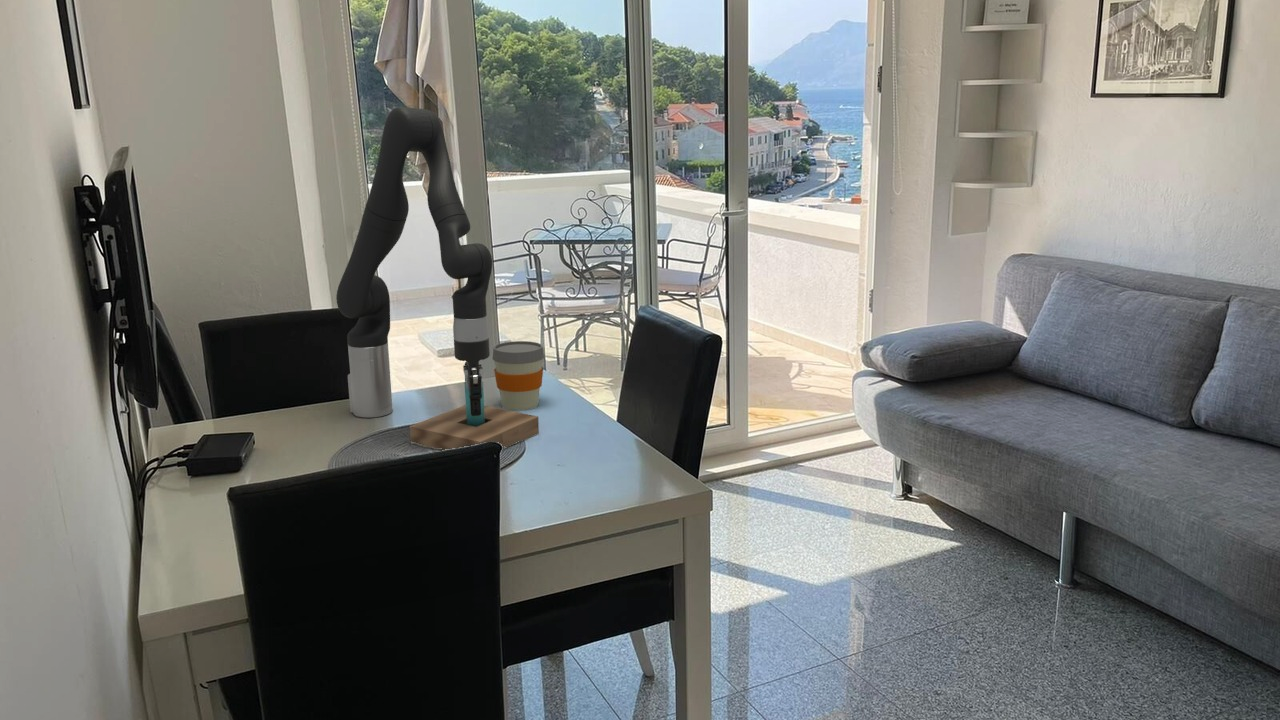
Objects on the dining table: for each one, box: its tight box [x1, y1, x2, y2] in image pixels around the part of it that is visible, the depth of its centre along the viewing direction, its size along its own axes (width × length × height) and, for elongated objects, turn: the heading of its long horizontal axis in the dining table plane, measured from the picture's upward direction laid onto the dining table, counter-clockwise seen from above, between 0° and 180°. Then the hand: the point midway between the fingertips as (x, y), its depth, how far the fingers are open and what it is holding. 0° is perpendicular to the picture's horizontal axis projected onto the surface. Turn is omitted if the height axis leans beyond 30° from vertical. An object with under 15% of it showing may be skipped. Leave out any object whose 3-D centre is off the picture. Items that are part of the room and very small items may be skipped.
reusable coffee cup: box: [492, 340, 545, 412], centre depth 228 cm, size 13×13×15 cm
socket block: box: [409, 404, 540, 451], centre depth 205 cm, size 20×20×4 cm
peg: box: [464, 380, 485, 427], centre depth 204 cm, size 4×4×10 cm
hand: (475, 411), depth 204 cm, fingers closed on peg, 4 cm apart
